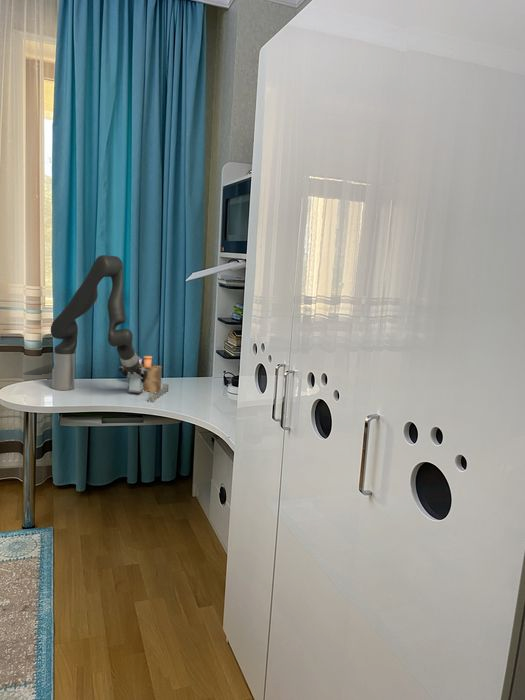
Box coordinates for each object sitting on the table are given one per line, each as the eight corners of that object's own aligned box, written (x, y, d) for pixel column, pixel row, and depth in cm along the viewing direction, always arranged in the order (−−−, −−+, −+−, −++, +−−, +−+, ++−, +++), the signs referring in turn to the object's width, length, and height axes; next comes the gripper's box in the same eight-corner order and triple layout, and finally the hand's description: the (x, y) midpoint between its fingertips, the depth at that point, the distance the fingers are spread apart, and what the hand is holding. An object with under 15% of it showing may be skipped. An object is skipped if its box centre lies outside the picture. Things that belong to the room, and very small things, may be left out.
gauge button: (141, 373, 288) (142, 356, 286) (144, 372, 292) (145, 355, 290) (149, 374, 287) (150, 357, 286) (152, 372, 291) (153, 356, 290)
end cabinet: (131, 390, 288) (132, 366, 286) (137, 387, 295) (138, 363, 293) (155, 393, 286) (156, 368, 284) (160, 389, 293) (161, 366, 291)
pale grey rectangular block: (128, 391, 280) (129, 370, 278) (132, 389, 285) (133, 368, 283) (139, 392, 279) (140, 371, 277) (143, 390, 284) (144, 369, 283)
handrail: (148, 401, 269) (148, 393, 268) (163, 391, 291) (163, 383, 290) (153, 402, 269) (153, 393, 268) (168, 392, 290) (168, 384, 290)
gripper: (146, 354, 271) (154, 375, 284) (117, 351, 273) (125, 372, 286) (142, 368, 266) (150, 388, 280) (111, 364, 268) (121, 385, 282)
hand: (137, 380), depth 283 cm, fingers closed on pale grey rectangular block, 5 cm apart
